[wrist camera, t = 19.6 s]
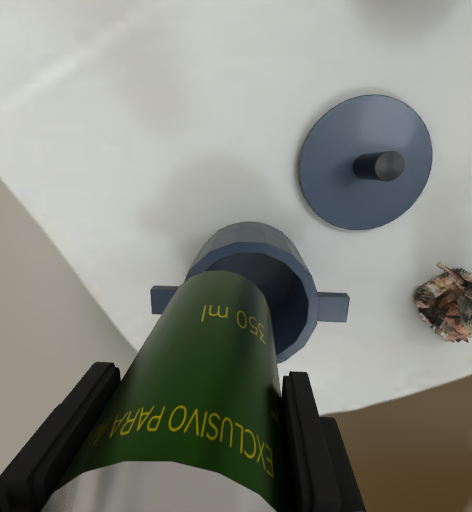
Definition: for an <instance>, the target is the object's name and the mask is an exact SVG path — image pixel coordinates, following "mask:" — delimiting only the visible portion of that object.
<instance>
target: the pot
mask: <svg viewBox="0 0 472 512" xmlns="http://www.w3.org/2000/svg"><path fill="white" fill-rule="evenodd" d="M217 270H225V271H229V272H232V273H236V274H240V275H242V276H243V277H245V278H246V279H248V280H250V281H251V282H253V283H254V284H255V285H256V286H257V287H258V289H259V290H260V291H261V292H262V293H263V294H264V296H265V298H266V301H267V304H268V306H269V309H270V314H271V322H272V330H273V337H274V345H275V353H276V360H277V364H278V363H281V362H283V361H286V360H287V359H288V358H289V357H291V356H292V355H293V354H295V353H296V352H297V351H299V350H300V349H301V348H303V347H304V346H305V344H306V342H307V341H308V339H309V337H310V336H311V334H312V332H313V331H314V329H315V327H316V324H317V321H326V322H346V320H347V313H348V306H349V299H350V298H349V296H348V295H347V293H329V292H317V290H316V288H315V285H314V282H313V279H312V276H311V274H310V272H309V270H308V269H307V267H306V265H305V263H304V261H303V260H302V258H301V256H300V254H299V252H298V251H297V249H296V247H295V246H294V245H293V244H292V243H291V241H290V240H289V239H288V238H287V237H286V236H285V235H284V234H283V233H282V232H281V231H279V230H277V229H275V228H273V227H272V226H269V225H266V224H263V223H258V222H240V223H235V224H232V225H229V226H227V227H225V228H223V229H221V230H219V231H218V232H217V233H216V234H215V235H213V236H212V237H211V238H210V240H208V241H207V242H206V243H205V245H204V246H203V248H202V250H201V251H200V253H199V255H198V256H197V258H196V260H195V261H194V263H193V265H192V266H191V268H190V270H189V272H188V274H187V276H186V279H185V281H187V280H188V279H189V278H190V277H192V276H194V275H197V274H200V273H203V272H205V271H217ZM185 281H184V282H185ZM178 288H179V287H177V286H153V287H152V288H151V290H150V291H151V307H152V314H163V312H164V310H165V309H166V307H167V305H168V304H169V302H170V300H171V299H172V297H173V296H174V294H175V293H176V291H177V289H178Z"/></svg>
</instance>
